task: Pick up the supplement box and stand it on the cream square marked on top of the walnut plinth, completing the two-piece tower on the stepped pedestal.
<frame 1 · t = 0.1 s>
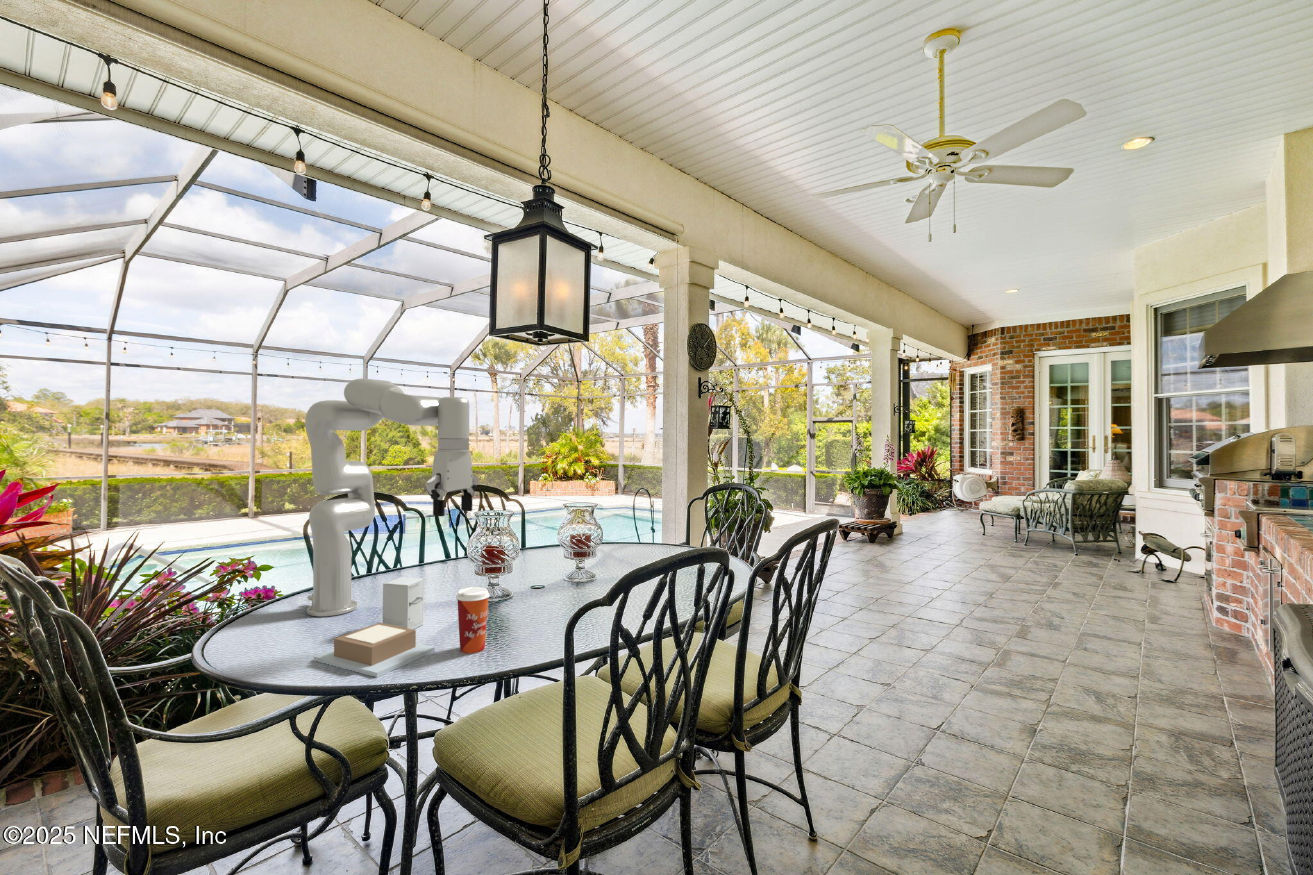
hand: (453, 513, 147), 31 cm above the table, tool pointing down, fingers open, 9 cm apart
stepped pedestal: (375, 655, 133), on the table
paper cup: (472, 649, 138), on the table
supplement box: (403, 629, 151), on the table
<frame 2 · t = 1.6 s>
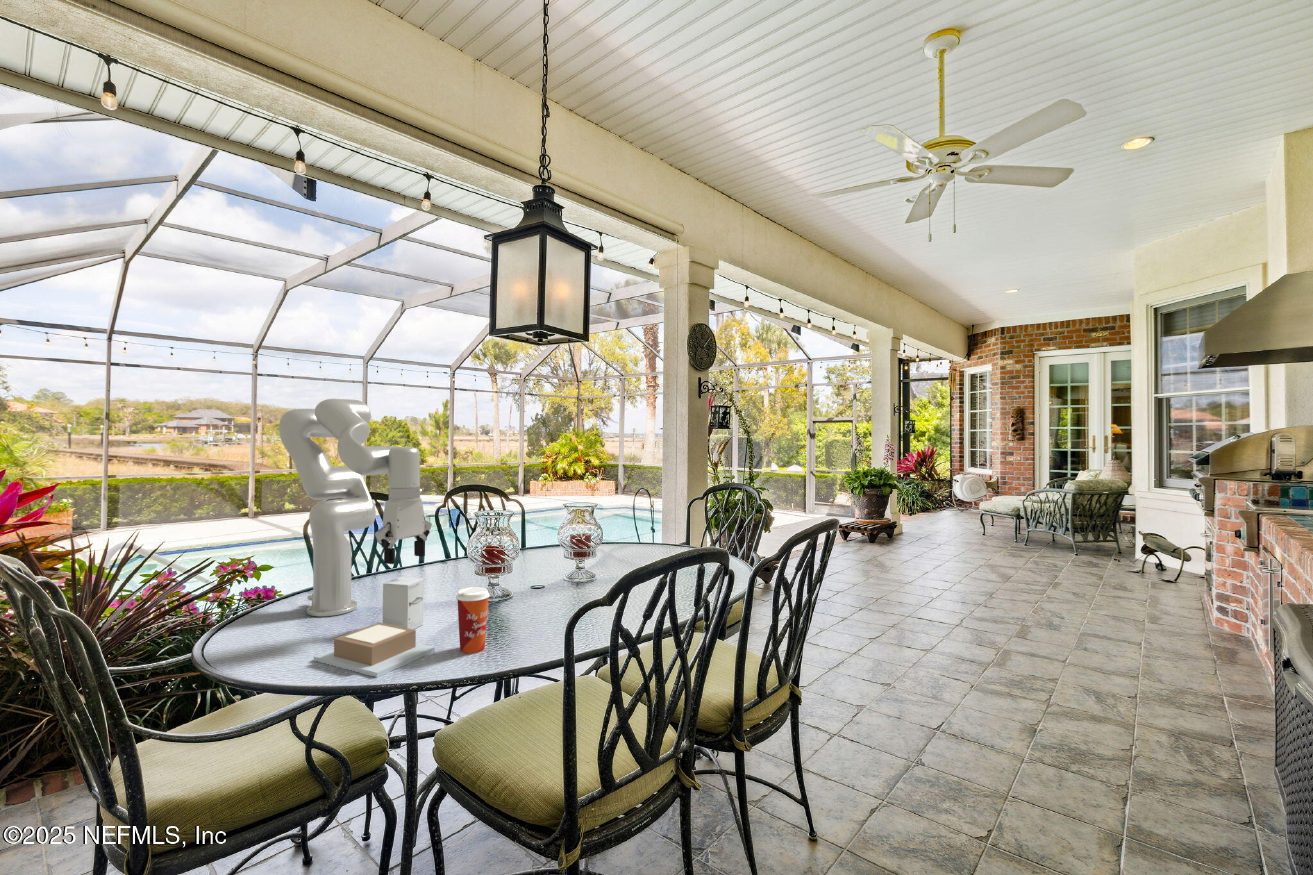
hand: (405, 559, 151), 18 cm above the table, tool pointing down, fingers open, 9 cm apart
nothing on the table moved.
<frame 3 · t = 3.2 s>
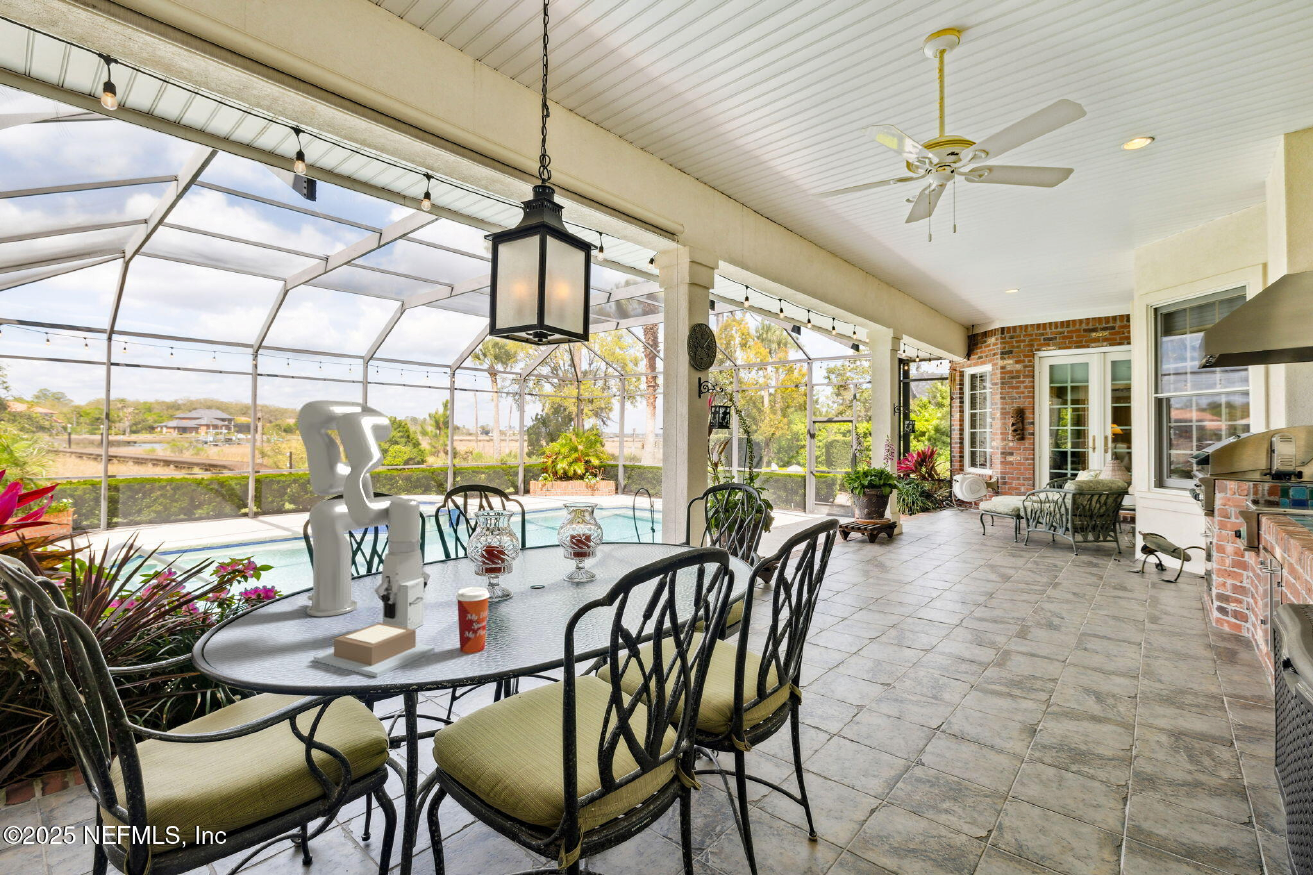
hand: (403, 612, 151), 4 cm above the table, tool pointing down, fingers closed on supplement box, 8 cm apart
supplement box: (403, 629, 151), on the table, touching gripper
everything else where it was.
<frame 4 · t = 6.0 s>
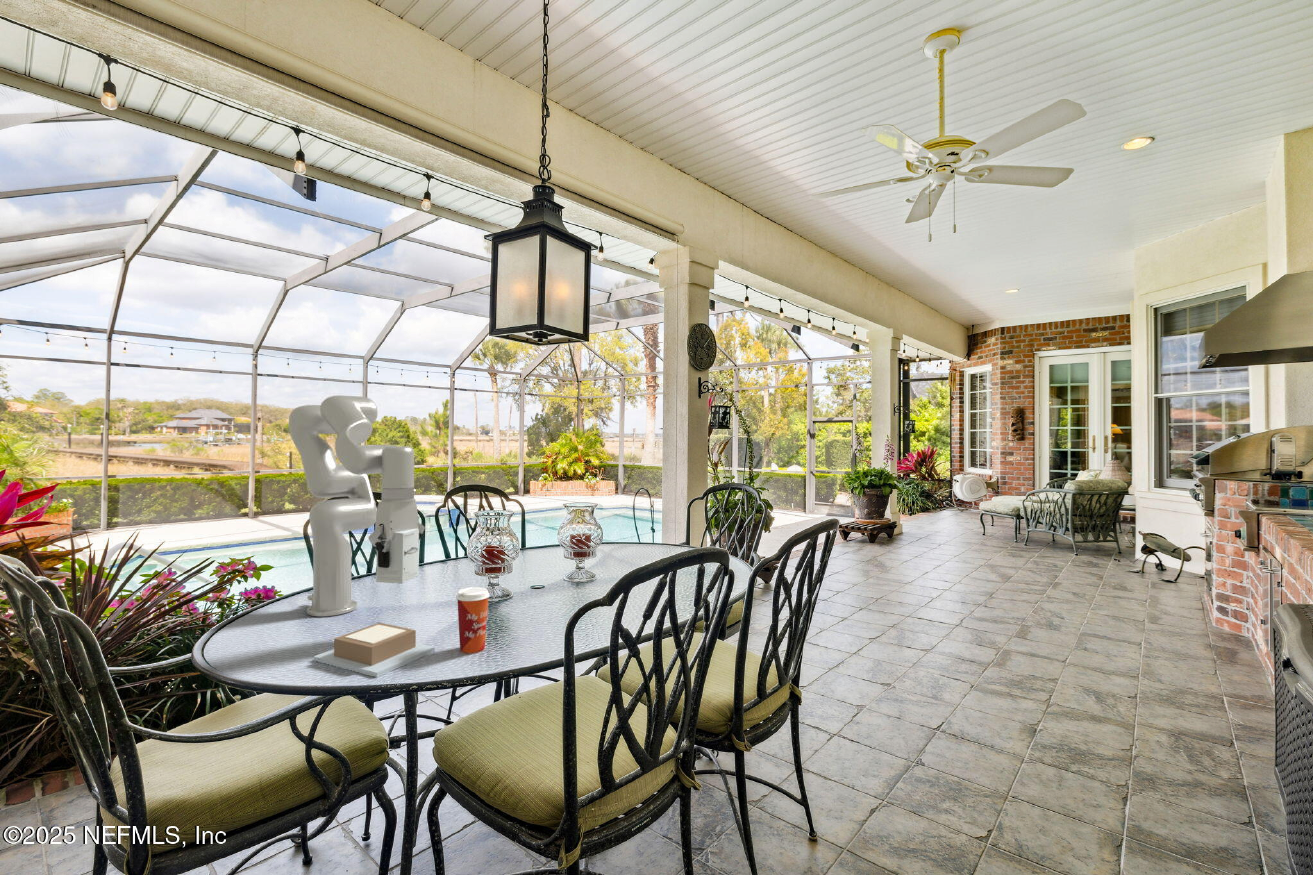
hand: (398, 563, 146), 18 cm above the table, tool pointing down, fingers closed on supplement box, 8 cm apart
supplement box: (397, 580, 146), point 14 cm above the table, touching gripper
everything else where it was.
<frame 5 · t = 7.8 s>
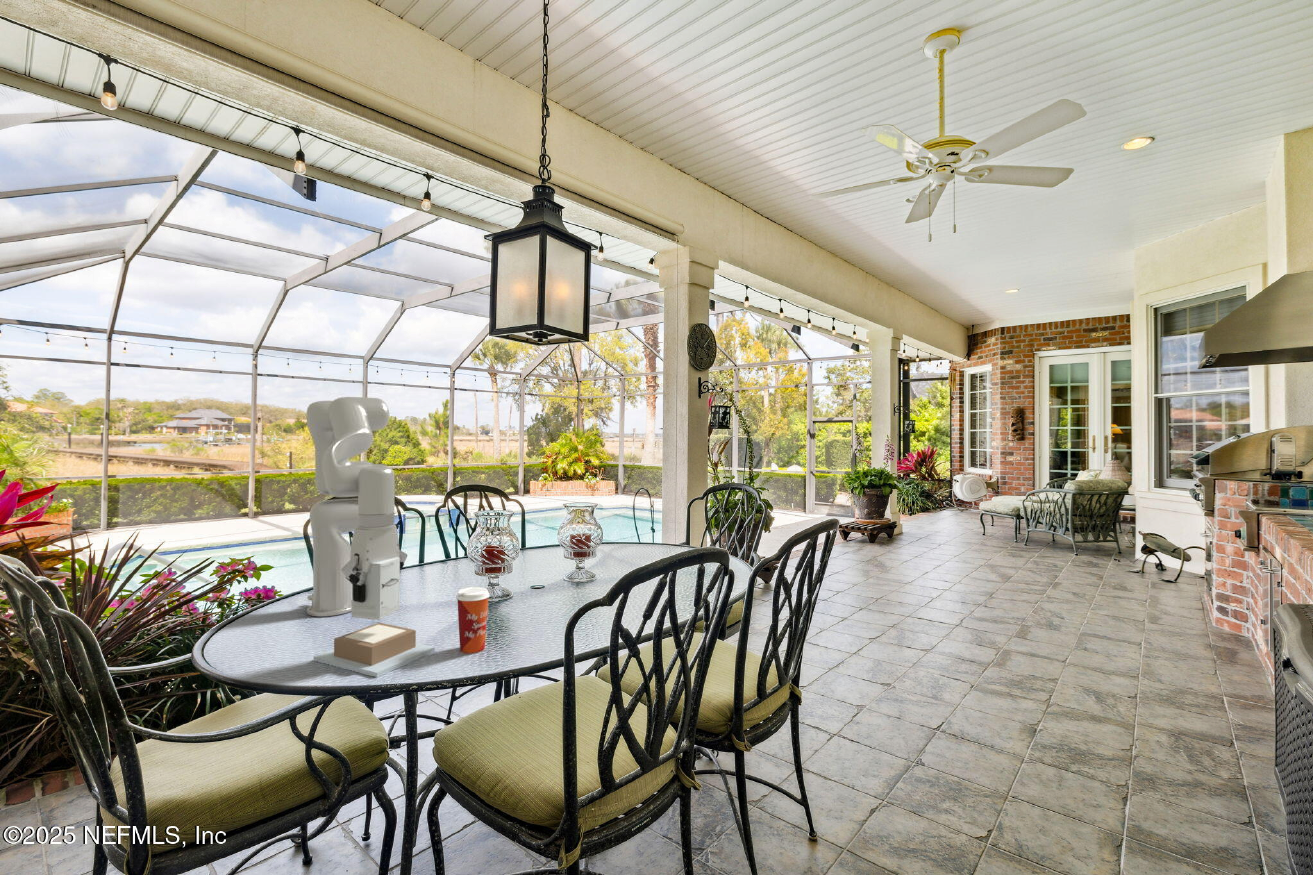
hand: (376, 596, 133), 14 cm above the table, tool pointing down, fingers closed on supplement box, 8 cm apart
supplement box: (376, 614, 133), point 10 cm above the table, touching gripper
everything else where it was.
when the fingers open (11 cm above the table, at t = 9.1 s): supplement box drops 1 cm, resting on stepped pedestal.
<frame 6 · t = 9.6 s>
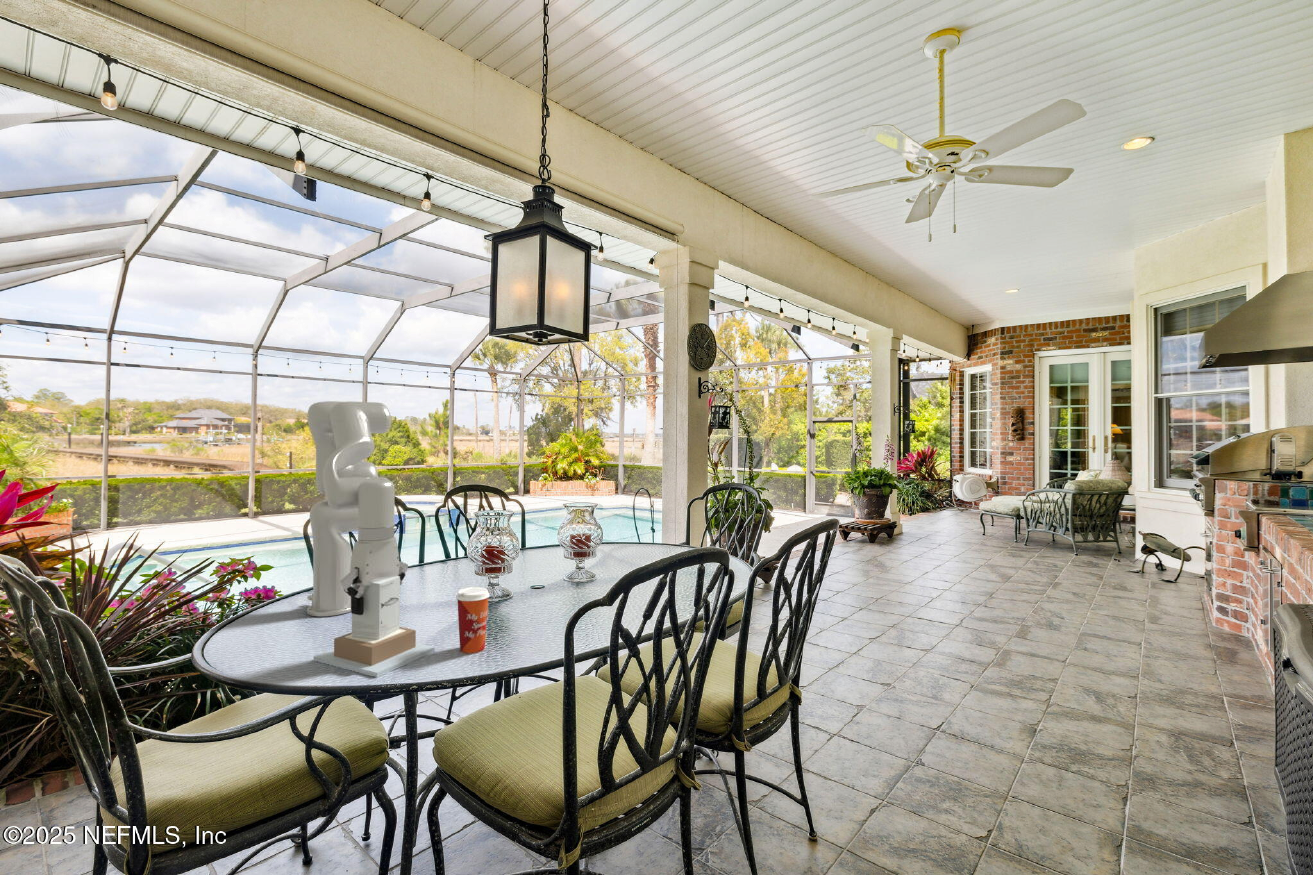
hand: (375, 607, 133), 11 cm above the table, tool pointing down, fingers open, 9 cm apart
supplement box: (376, 633, 133), point 5 cm above the table, touching stepped pedestal
everything else where it was.
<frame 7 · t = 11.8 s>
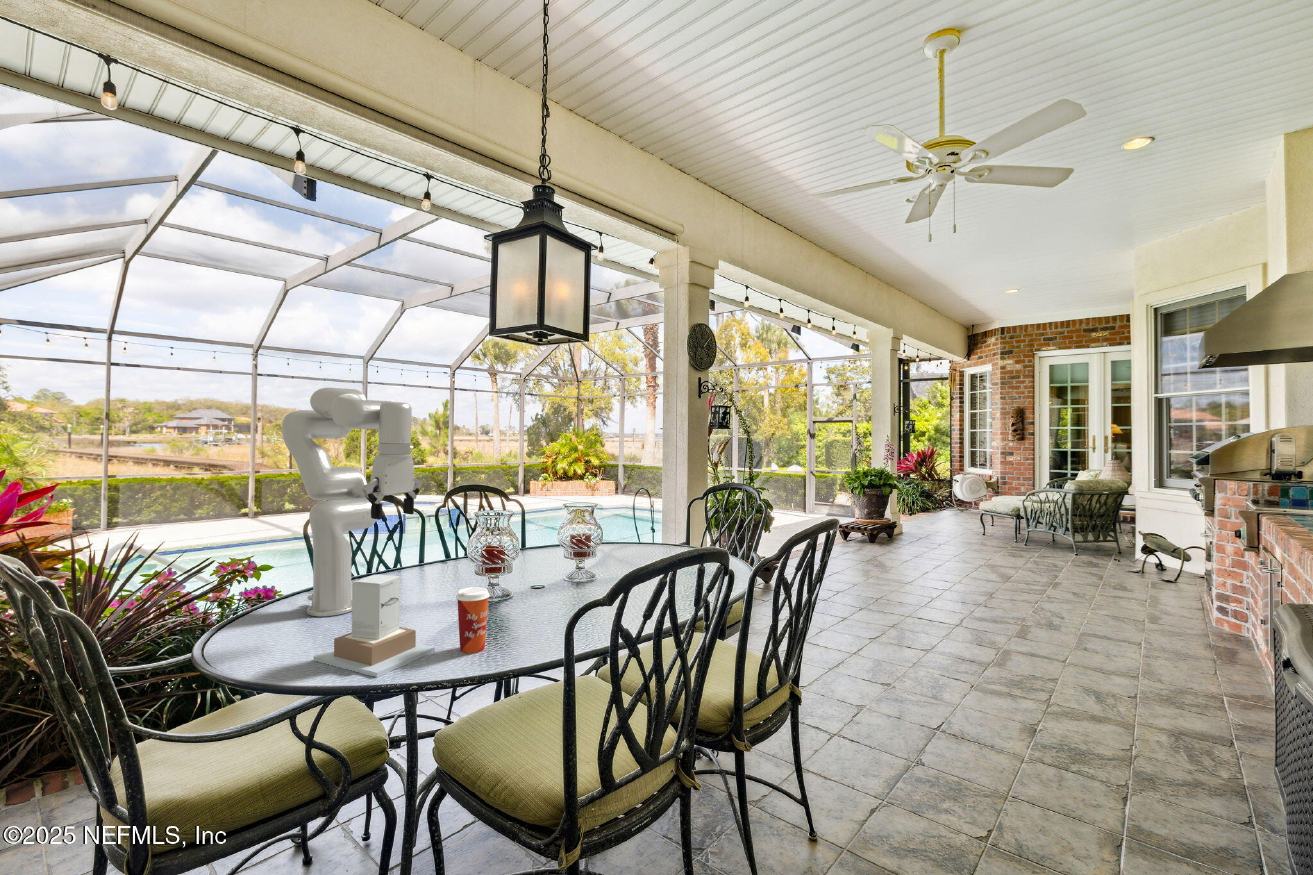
hand: (392, 516, 149), 30 cm above the table, tool pointing down, fingers open, 9 cm apart
nothing on the table moved.
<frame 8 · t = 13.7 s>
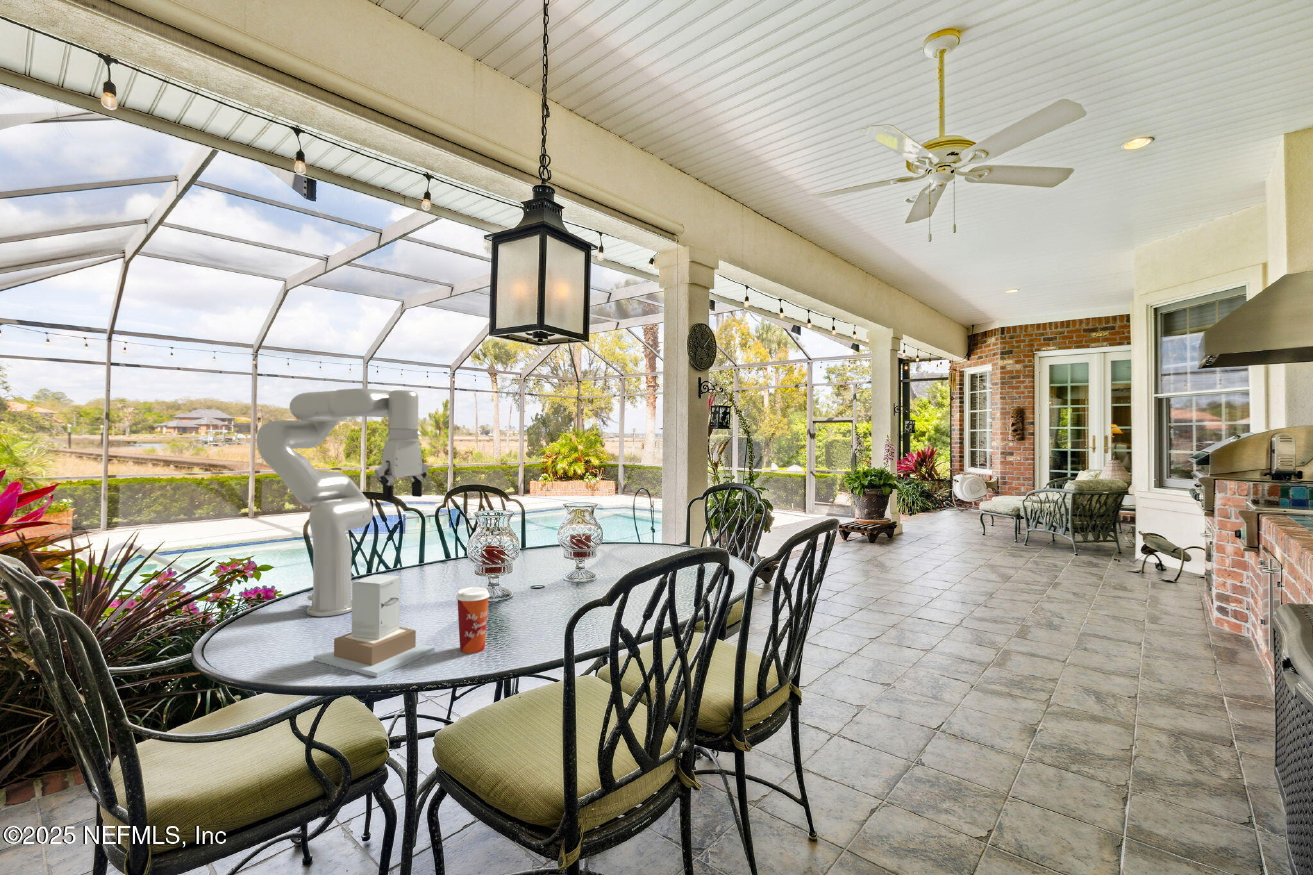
hand: (402, 498, 158), 33 cm above the table, tool pointing down, fingers open, 9 cm apart
nothing on the table moved.
at the end: supplement box inside the target area on the stepped pedestal (0.4 cm from its centre), point 5.0 cm above the stepped pedestal's base; supplement box tilted 0°; the gripper is holding nothing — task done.
